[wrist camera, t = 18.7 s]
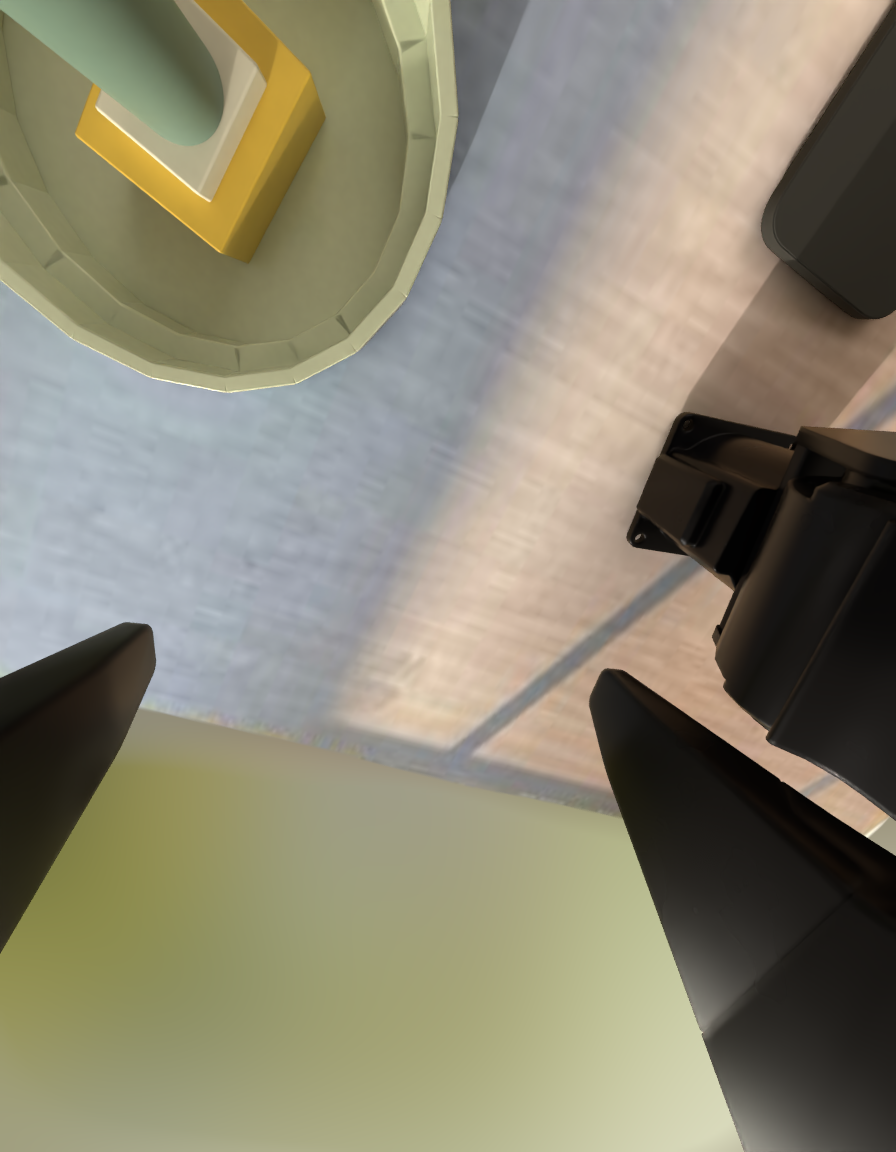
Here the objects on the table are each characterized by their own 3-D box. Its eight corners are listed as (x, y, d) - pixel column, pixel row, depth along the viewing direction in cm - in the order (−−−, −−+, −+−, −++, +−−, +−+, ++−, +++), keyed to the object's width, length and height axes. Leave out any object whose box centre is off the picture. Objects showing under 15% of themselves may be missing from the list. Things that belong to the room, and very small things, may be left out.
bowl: (486, -105, 13) (519, -262, 9) (406, 409, 19) (408, 428, 16) (-109, -355, 10) (-364, -697, 7) (24, 333, 17) (-73, 335, 13)
